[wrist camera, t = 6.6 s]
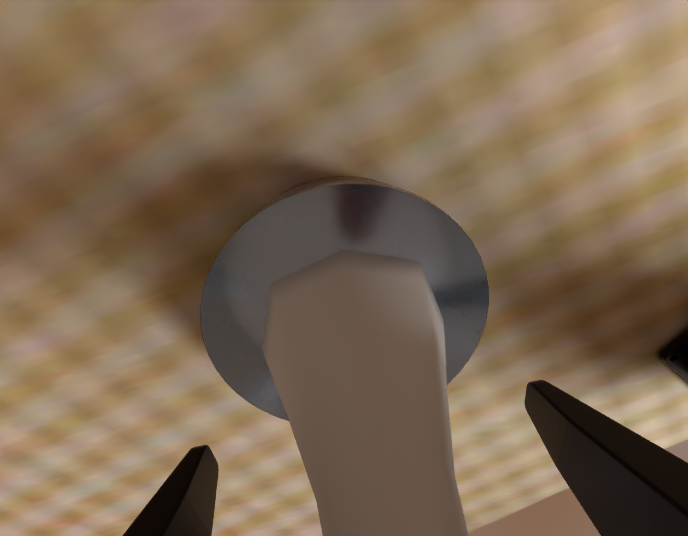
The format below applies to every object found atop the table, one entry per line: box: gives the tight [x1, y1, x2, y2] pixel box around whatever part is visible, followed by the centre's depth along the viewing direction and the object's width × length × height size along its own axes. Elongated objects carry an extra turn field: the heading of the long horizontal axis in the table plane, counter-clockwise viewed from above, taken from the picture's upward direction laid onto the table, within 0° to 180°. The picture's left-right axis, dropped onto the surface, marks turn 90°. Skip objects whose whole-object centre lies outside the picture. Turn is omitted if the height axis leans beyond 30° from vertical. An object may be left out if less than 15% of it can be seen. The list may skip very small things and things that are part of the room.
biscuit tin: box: [200, 177, 489, 421], centre depth 15 cm, size 11×11×4 cm
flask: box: [262, 249, 468, 536], centre depth 9 cm, size 7×7×10 cm
